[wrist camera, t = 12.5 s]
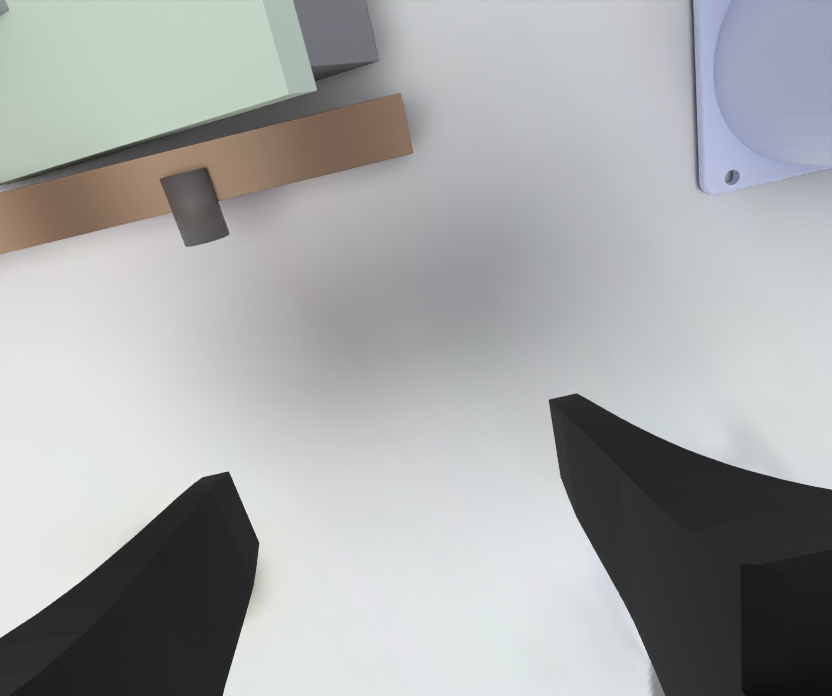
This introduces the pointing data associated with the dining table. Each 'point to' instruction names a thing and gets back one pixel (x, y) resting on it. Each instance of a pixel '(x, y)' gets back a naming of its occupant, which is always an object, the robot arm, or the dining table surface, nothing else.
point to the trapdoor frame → (204, 176)
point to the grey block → (3, 7)
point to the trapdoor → (157, 69)
